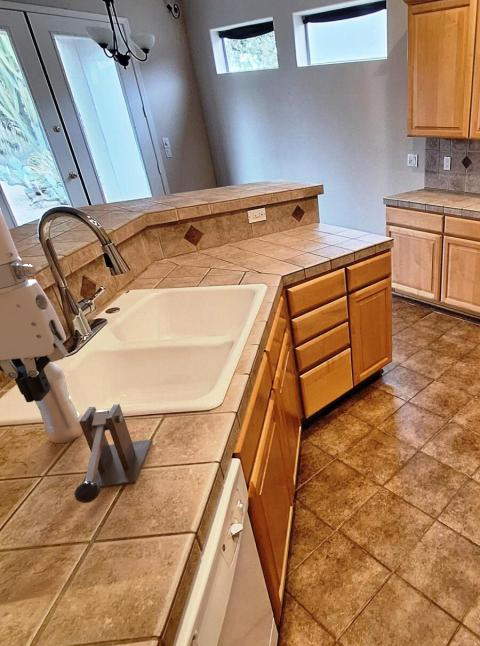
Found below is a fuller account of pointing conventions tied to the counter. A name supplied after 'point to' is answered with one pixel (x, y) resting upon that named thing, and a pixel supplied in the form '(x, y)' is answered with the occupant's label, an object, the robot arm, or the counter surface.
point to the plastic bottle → (59, 408)
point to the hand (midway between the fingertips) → (38, 396)
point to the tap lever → (93, 461)
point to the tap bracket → (116, 450)
